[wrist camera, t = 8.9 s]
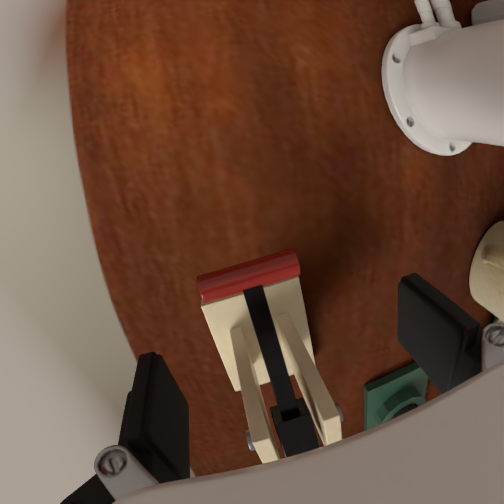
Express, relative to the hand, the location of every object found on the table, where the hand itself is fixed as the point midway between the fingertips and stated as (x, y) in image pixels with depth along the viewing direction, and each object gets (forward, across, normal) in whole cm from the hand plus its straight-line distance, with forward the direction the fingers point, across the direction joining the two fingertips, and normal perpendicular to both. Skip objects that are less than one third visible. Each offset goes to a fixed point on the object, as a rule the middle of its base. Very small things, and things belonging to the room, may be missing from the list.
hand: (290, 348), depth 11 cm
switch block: (+14, -13, +27) cm, 34 cm away
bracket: (+14, +1, +9) cm, 17 cm away
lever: (+6, +1, +5) cm, 8 cm away
